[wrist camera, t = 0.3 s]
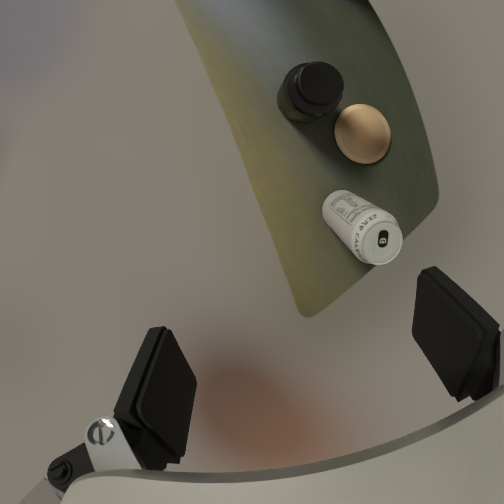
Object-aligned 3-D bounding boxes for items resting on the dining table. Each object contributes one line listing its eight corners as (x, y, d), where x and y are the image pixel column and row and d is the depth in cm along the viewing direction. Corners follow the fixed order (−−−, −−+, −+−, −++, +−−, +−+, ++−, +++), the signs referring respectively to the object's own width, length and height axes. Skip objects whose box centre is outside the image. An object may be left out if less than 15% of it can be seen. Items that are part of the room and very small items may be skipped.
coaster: (339, 97, 33) (341, 96, 33) (392, 115, 34) (394, 115, 33) (329, 154, 37) (330, 154, 36) (382, 170, 37) (384, 170, 37)
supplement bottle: (333, 105, 34) (366, 92, 23) (298, 132, 35) (319, 128, 24) (302, 70, 32) (323, 42, 21) (265, 96, 33) (273, 76, 22)
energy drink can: (320, 228, 41) (354, 273, 27) (320, 189, 38) (358, 215, 25) (357, 226, 41) (403, 267, 27) (358, 188, 38) (409, 214, 24)
